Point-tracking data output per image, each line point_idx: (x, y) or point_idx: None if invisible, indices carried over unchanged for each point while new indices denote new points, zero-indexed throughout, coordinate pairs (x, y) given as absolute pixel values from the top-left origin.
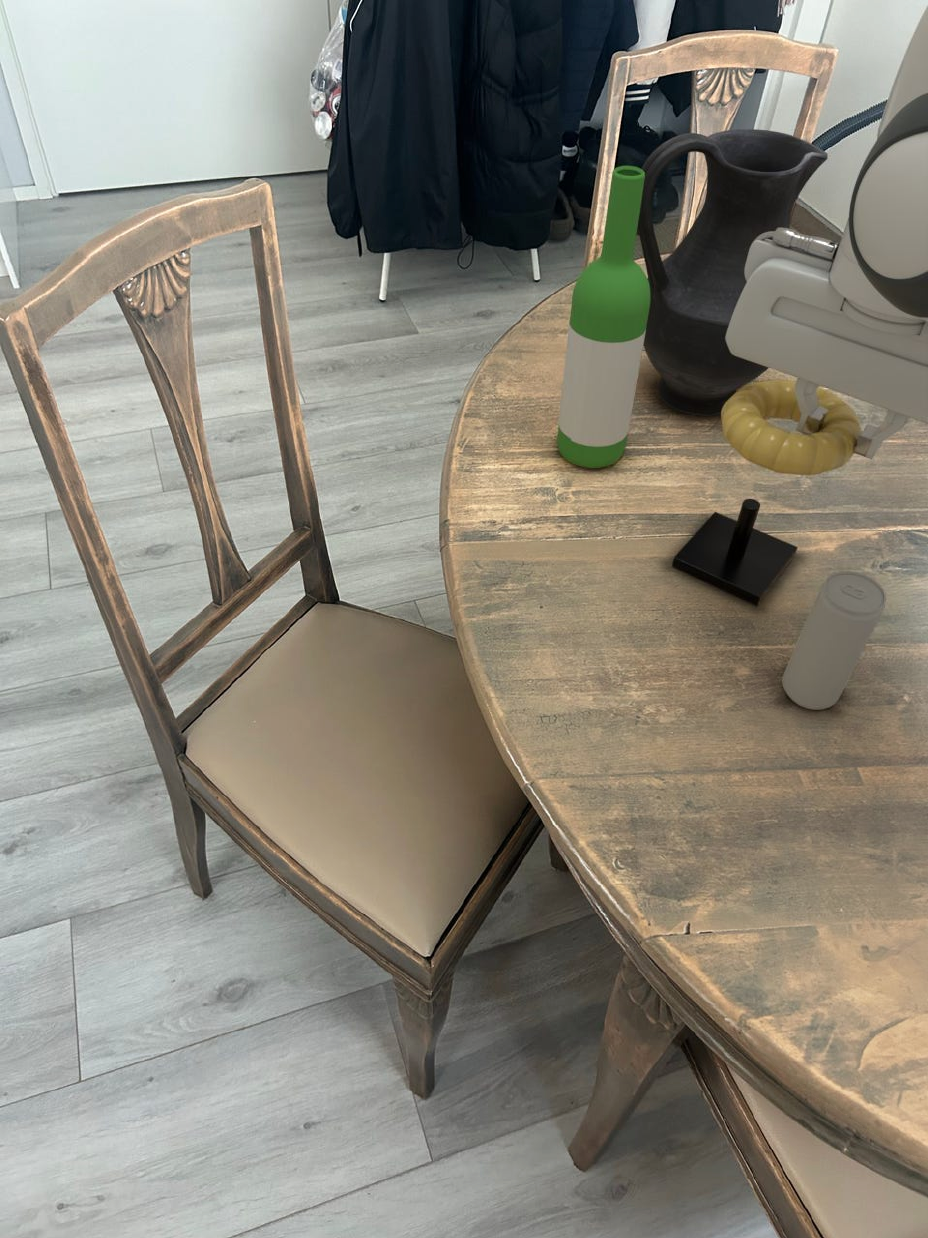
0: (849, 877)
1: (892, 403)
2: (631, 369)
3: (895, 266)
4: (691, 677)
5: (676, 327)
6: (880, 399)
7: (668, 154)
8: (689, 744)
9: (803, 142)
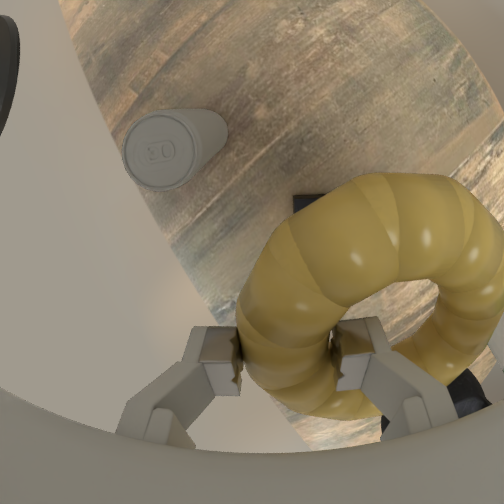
0: (107, 23)
1: (132, 465)
2: (498, 331)
3: None
4: (292, 75)
5: (464, 388)
6: (174, 473)
7: None
8: (250, 16)
9: None
